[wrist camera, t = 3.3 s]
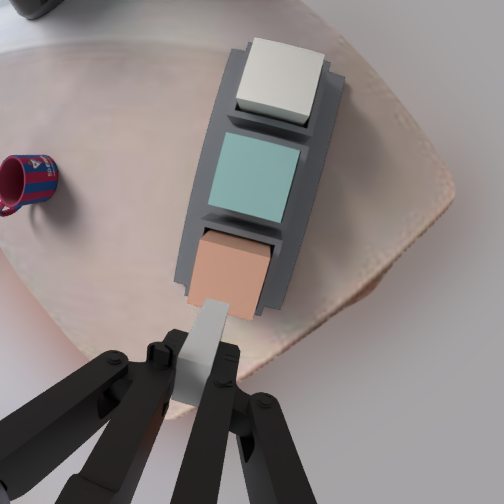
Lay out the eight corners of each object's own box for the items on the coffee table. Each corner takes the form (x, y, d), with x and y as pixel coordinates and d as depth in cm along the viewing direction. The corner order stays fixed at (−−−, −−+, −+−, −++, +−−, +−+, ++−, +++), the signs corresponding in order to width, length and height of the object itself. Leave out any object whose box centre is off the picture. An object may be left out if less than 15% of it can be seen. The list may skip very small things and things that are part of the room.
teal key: (233, 140, 27) (226, 132, 22) (294, 155, 27) (300, 150, 22) (218, 199, 28) (207, 204, 23) (278, 214, 29) (280, 223, 24)
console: (232, 52, 28) (226, 30, 22) (342, 80, 28) (357, 62, 23) (176, 278, 35) (160, 297, 30) (279, 305, 36) (281, 330, 30)
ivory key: (256, 59, 25) (254, 37, 20) (315, 73, 25) (324, 54, 20) (241, 111, 26) (235, 97, 21) (301, 126, 26) (309, 116, 21)
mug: (65, 181, 33) (32, 185, 26) (29, 223, 35) (-1, 232, 28) (46, 145, 32) (14, 144, 25) (13, 189, 34) (-17, 194, 27)
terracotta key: (211, 228, 29) (199, 239, 24) (269, 243, 29) (270, 258, 24) (199, 283, 31) (186, 303, 26) (254, 297, 31) (252, 320, 26)
